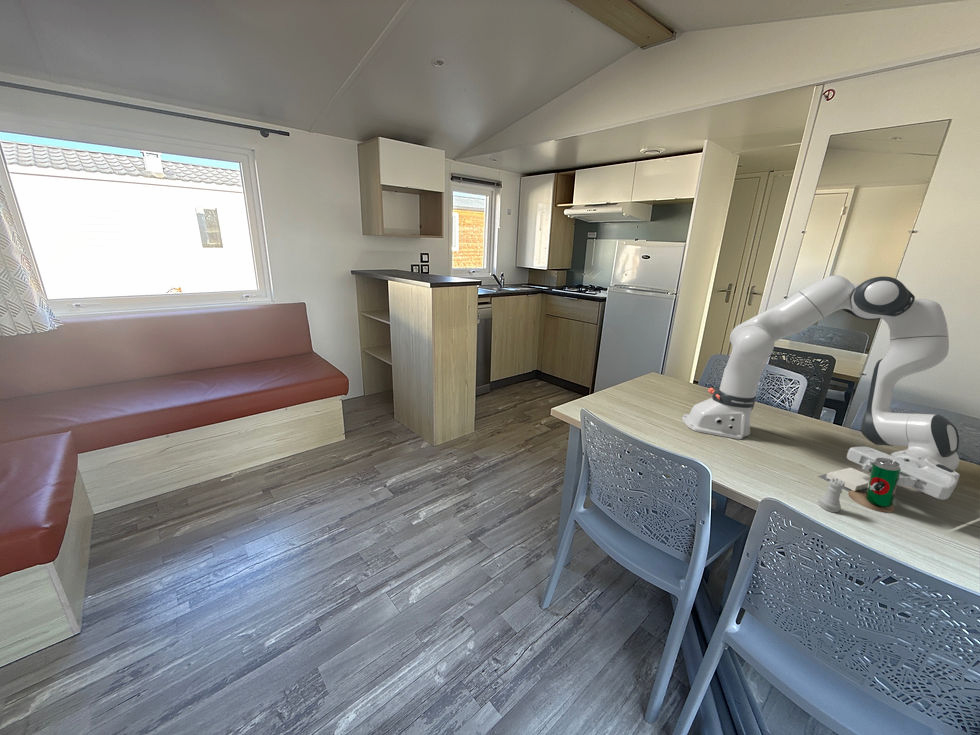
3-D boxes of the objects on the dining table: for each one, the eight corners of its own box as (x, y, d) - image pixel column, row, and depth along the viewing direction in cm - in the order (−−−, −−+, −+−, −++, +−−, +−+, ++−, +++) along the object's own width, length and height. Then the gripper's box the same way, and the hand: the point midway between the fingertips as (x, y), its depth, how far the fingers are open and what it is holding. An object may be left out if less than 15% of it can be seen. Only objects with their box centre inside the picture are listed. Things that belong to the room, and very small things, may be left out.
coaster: (863, 511, 98) (864, 508, 98) (839, 490, 107) (840, 488, 106) (903, 516, 97) (904, 514, 96) (875, 495, 105) (877, 492, 105)
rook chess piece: (812, 502, 101) (822, 476, 98) (828, 501, 101) (837, 476, 99) (828, 513, 97) (838, 486, 94) (844, 513, 97) (854, 486, 95)
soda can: (896, 510, 97) (906, 468, 94) (870, 506, 99) (879, 465, 96) (886, 498, 101) (895, 458, 98) (861, 495, 103) (869, 455, 100)
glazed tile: (850, 467, 114) (827, 472, 111) (880, 479, 108) (856, 486, 104) (848, 472, 115) (825, 478, 111) (878, 485, 109) (854, 491, 105)
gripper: (867, 438, 112) (838, 444, 107) (969, 477, 93) (939, 487, 89) (860, 457, 113) (830, 464, 109) (958, 499, 95) (928, 509, 91)
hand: (880, 474), depth 99 cm, fingers open, 5 cm apart
